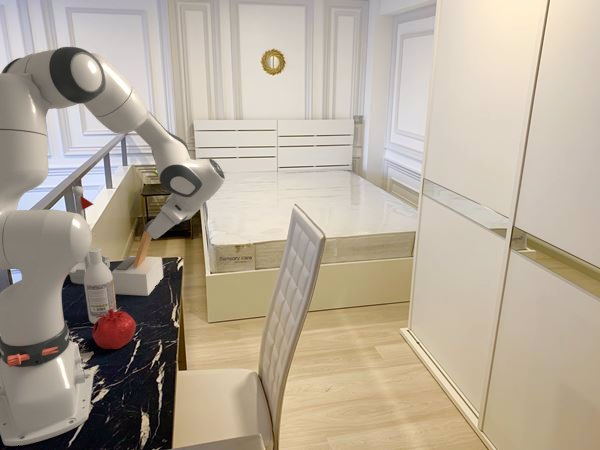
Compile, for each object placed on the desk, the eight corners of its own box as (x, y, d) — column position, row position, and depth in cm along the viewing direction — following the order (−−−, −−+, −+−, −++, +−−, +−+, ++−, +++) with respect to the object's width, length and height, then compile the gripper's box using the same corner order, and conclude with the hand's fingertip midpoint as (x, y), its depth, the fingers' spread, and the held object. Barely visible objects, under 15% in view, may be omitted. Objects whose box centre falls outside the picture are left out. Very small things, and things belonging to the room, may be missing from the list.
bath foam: (120, 319, 122) (113, 250, 116) (93, 328, 118) (84, 256, 112) (112, 309, 127) (104, 242, 121) (86, 317, 123) (76, 248, 117)
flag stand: (57, 281, 143) (42, 189, 133) (87, 266, 155) (75, 179, 145) (91, 288, 139) (79, 193, 130) (119, 271, 151) (109, 183, 142)
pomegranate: (144, 335, 116) (142, 302, 113) (119, 357, 107) (116, 322, 104) (111, 328, 118) (108, 295, 115) (84, 348, 109) (80, 314, 106)
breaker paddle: (145, 260, 143) (158, 221, 138) (137, 268, 137) (150, 228, 132) (140, 257, 142) (152, 219, 138) (131, 266, 136) (144, 225, 132)
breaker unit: (163, 277, 148) (161, 255, 145) (148, 295, 135) (145, 272, 133) (131, 275, 148) (129, 254, 146) (113, 293, 136) (111, 270, 134)
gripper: (185, 188, 142) (157, 217, 146) (161, 206, 122) (130, 239, 126) (200, 202, 143) (172, 230, 147) (179, 223, 124) (147, 254, 127)
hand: (152, 234), depth 136 cm, fingers closed, pressing on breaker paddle
